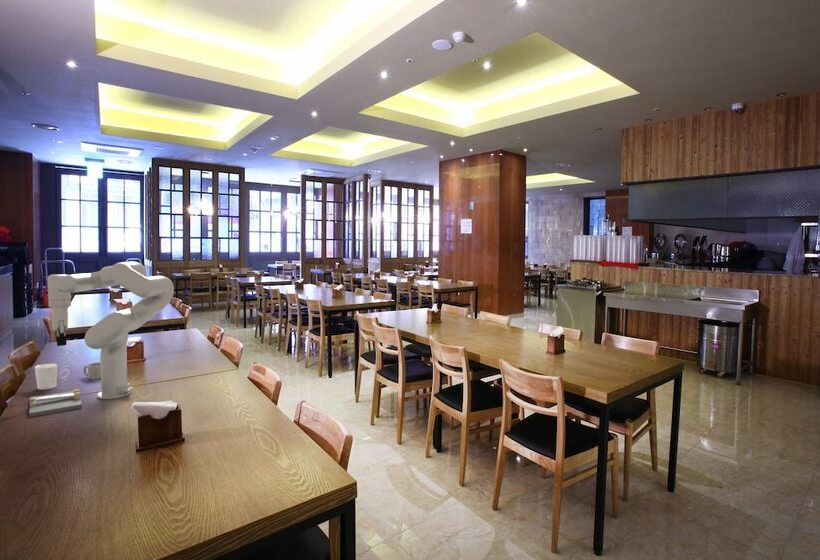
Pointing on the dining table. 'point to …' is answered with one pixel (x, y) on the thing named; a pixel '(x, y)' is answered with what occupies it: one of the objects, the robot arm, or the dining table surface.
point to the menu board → (54, 404)
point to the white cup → (46, 376)
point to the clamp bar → (54, 397)
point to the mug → (93, 371)
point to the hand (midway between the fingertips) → (61, 345)
